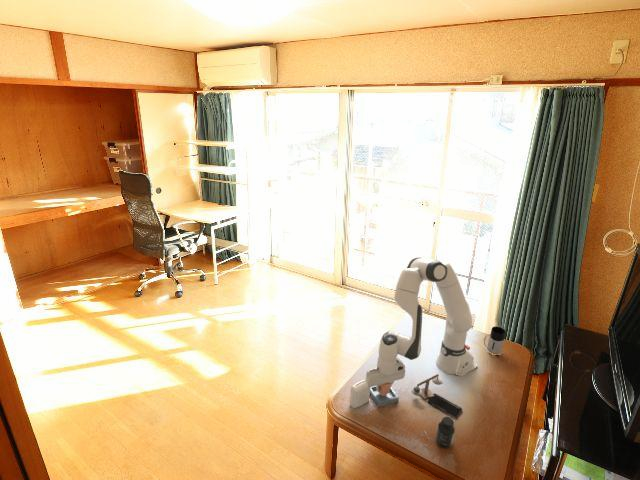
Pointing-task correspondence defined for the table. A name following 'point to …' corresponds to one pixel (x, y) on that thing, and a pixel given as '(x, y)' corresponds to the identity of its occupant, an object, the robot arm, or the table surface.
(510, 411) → the table surface
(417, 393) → the tipped balance
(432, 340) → the table surface
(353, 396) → the photo printer
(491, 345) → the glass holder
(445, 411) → the phone
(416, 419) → the table surface
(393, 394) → the dish
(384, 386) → the terracotta block
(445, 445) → the supplement bottle
